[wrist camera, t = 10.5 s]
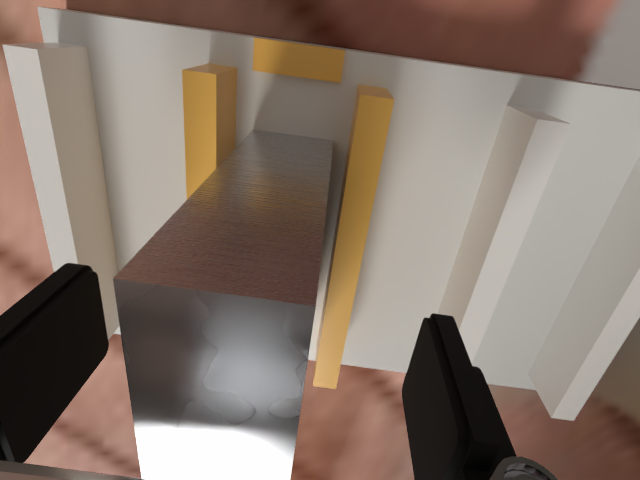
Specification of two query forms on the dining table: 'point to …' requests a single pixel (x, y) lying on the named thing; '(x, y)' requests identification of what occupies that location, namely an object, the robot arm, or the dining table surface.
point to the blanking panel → (227, 315)
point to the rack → (358, 186)
